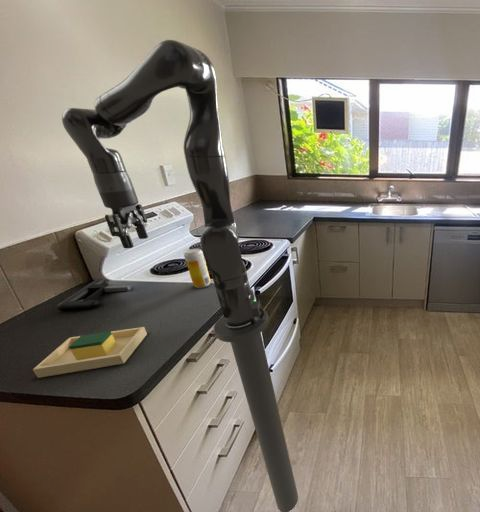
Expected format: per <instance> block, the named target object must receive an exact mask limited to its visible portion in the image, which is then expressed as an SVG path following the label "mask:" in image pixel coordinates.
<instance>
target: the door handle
mask: <svg viewBox="0 0 480 512" xmlns="http://www.w3.org/2000/svg"><path fill="white" fill-rule="evenodd" d="M131 289H132V288H131V285H129V284H126V285H125V284H124V285H108V284H107V283H105V280H104V279H102V278H98V279H95V280H94V281H92V282H91V283H88V284H87V285H86V286H84V287H83V288H81V289H80V290H78V291H76V292H75V293H73V294H72V295H70V296H69V297H66V299H64V300H63V301H61V302H59V303H58V304H57V306H56V308H57V310H58V311H60V312H65V311H68V310H85V309H94V308H97V307H98V306H99V305H100V303H101V302H100V300H99V299H98V298H99V297H101V296H103V295H105V294H107V293H112V292H113V293H114V292H129V291H130V290H131Z"/></svg>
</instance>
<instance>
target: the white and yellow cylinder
mask: <svg viewBox="0 0 480 512" xmlns="http://www.w3.org/2000/svg"><path fill="white" fill-rule="evenodd" d="M183 253H184V254H183V258H184V260H185V263H186V267H187V270H188V272H189V276H190V279H191V282H192V285H193V287H195V288H196V289H204V288H207V287H208V286H210V285H211V282H212V280H211V277H210V272H209V270H208V267H207V264H206V261H205V258H204V255H203V252H202V249H201V248H198V247H195V248H189V249H186V250H185V251H184V252H183Z"/></svg>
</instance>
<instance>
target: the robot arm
mask: <svg viewBox="0 0 480 512" xmlns="http://www.w3.org/2000/svg"><path fill="white" fill-rule="evenodd" d="M217 87H218V86H217V76H216V72H215V68H214V65H213V62H212V61H211V59H210V57H209V56H208V55H207V54H206V53H204V52H203V51H201V50H200V49H198V48H196V47H193V46H191V45H188V44H186V43H184V42H181V41H178V40H175V39H165V40H162V41H160V42H159V43H158V44H157V45H155V47H154V48H153V49H152V50H150V52H149V53H148V54H147V55H146V56H145V58H144V59H143V60H142V61H141V62H140V63H139V64H138V65H137V66H136V67H135V68H134V69H133V70H132V71H131V73H130V74H129V75H128V76H126V78H124V79H123V80H122V81H120V82H119V83H118V84H117V85H115V86H114V87H112V88H110V89H109V90H107V91H105V92H104V93H103V94H101V95H99V96H98V97H96V99H95V100H94V103H93V105H94V109H93V108H81V107H80V108H78V107H69V108H66V109H64V110H63V112H62V115H61V123H62V126H63V128H64V130H65V132H66V133H67V134H68V136H69V137H70V139H72V141H73V142H74V143H75V145H76V146H77V147H78V149H79V150H80V152H82V154H83V155H84V157H85V159H86V161H87V164H88V166H89V169H90V171H91V173H92V176H93V181H94V183H95V186H96V190H97V192H98V194H99V197H100V200H101V201H102V203H103V206H104V208H107V209H111V213H112V214H105V215H104V218H105V222H106V224H107V226H108V229H109V233H110V235H111V236H112V237H118V238H119V241H120V243H121V245H122V248H123V249H132V248H134V246H135V245H134V242H133V240H132V237H131V235H130V229H131V228H132V226H134V229H135V231H136V234H137V237H138V239H140V240H145V239H148V238H149V234H148V233H147V230H146V224H147V223H148V218H147V216H146V213H145V211H144V208H143V205H142V204H141V203H139V198H138V195H137V194H136V191H135V188H134V185H133V182H132V180H131V179H132V178H131V177H130V175H129V174H128V171H127V168H126V165H125V163H124V160H123V157H122V155H121V153H120V152H119V150H116V149H114V148H109V147H105V145H103V143H102V142H101V140H106V139H112V138H115V137H117V136H119V135H120V134H121V133H122V132H123V131H124V129H125V128H126V127H127V125H128V124H129V123H132V122H133V121H135V120H137V119H138V118H140V117H141V116H143V115H144V114H145V113H147V112H148V111H149V109H150V107H151V105H152V103H153V100H154V99H155V97H157V96H158V95H159V94H161V93H162V92H166V91H169V90H171V89H174V88H179V89H183V90H185V93H186V96H187V103H188V107H189V119H188V124H187V128H186V130H185V134H184V138H183V139H184V140H183V154H184V160H185V165H186V168H187V173H188V176H189V179H190V181H191V183H192V186H193V188H194V190H195V192H196V195H197V196H198V198H199V201H200V204H201V208H202V213H203V214H202V215H203V222H204V228H203V229H204V230H203V231H202V233H201V235H200V239H199V241H200V247H201V248H200V249H201V251H202V252H203V256H204V259H205V263H206V266H207V270H208V272H209V274H210V275H211V277H212V280H213V281H212V282H213V284H214V288H215V291H216V295H217V299H218V302H219V305H220V310H221V312H222V316H224V320H225V325H226V327H227V328H229V329H241V328H245V327H247V326H249V325H251V324H255V323H256V319H257V317H259V316H260V317H259V318H260V319H262V318H263V316H264V310H265V309H264V308H262V304H261V300H256V299H255V296H254V295H255V294H254V290H253V289H251V285H250V282H249V276H248V273H247V267H246V264H245V262H244V261H243V257H242V253H241V248H240V245H239V240H240V232H239V229H238V225H237V223H236V219H235V215H234V212H233V208H232V204H231V203H232V202H231V193H230V192H231V190H230V177H229V171H228V164H227V163H228V162H227V158H226V153H225V147H224V142H223V135H222V129H221V123H220V117H219V105H218V88H217ZM263 309H264V310H263ZM260 312H261V315H260Z"/></svg>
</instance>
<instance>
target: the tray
mask: <svg viewBox="0 0 480 512" xmlns="http://www.w3.org/2000/svg"><path fill="white" fill-rule="evenodd" d="M110 332H111V333H112V335H113V338H114V340H115V342H116V346H115V347H114V348H113V349H112V350H111V351H110V352H109V353H108V354H107V355H104V356H98V357H92V358H86V359H79V360H76V359H75V357H74V355H73V353H72V351H71V350H70V348H69V346H70V345H71V344H72V343H74V342H75V341H76V340H77V339H78V338H79V337H80V336H81V335H78V336H72V337H71V336H70V337H68V338H67V339H66V340H65V341H64V342H62V344H60V345H59V346H57V348H56V349H55V350H53V351H52V352H51V353H50V354H49V355H47V356H46V358H44V359H43V360H42V361H41V362H40V363H39V364H37V365H36V366H35V367H34V368H33V369H32V372H34V374H35V376H36V377H37V379H39V378H45V377H52V376H58V375H64V374H69V373H70V374H71V373H77V372H82V371H88V370H93V369H94V370H95V369H99V368H105V367H111V366H117V365H124V364H125V363H126V362H127V361H128V359H129V358H130V357H131V355H132V354H133V353H134V352H135V350H136V349H137V348H138V347H139V345H140V344H141V343H142V342H143V340H144V339H145V338H146V337H147V335H148V333H147V330H146V328H145V326H140V327H133V328H126V329H119V330H113V331H110Z"/></svg>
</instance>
